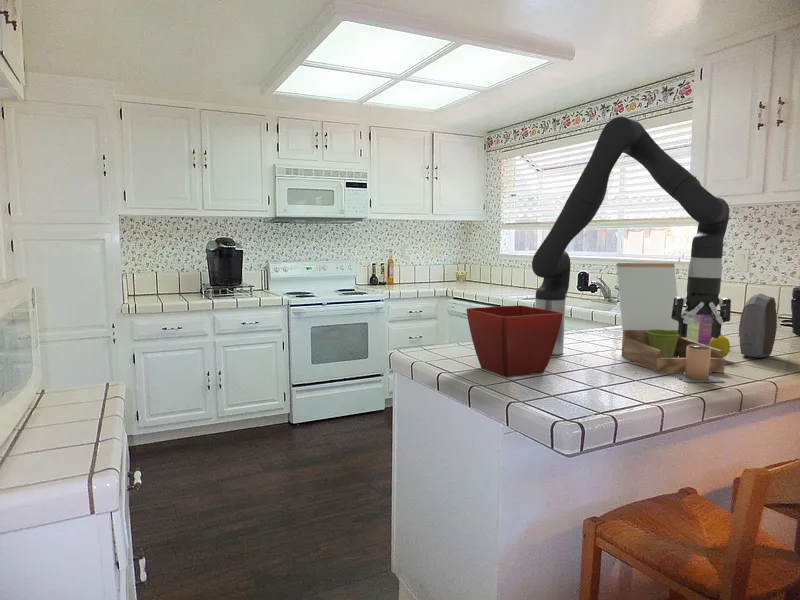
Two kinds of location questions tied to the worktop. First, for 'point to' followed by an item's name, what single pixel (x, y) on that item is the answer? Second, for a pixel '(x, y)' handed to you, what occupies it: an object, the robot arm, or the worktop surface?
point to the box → (700, 329)
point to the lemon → (721, 344)
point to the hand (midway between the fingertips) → (698, 337)
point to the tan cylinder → (697, 362)
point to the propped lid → (647, 295)
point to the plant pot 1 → (514, 338)
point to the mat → (682, 377)
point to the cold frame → (650, 357)
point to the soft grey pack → (758, 326)
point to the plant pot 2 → (663, 341)
